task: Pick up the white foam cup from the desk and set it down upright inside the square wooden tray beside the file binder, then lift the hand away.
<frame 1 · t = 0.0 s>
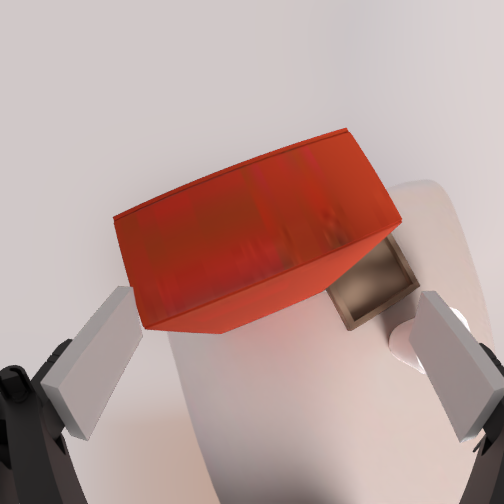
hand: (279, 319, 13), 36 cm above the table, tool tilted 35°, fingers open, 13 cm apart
square wooden tray: (363, 272, 50), on the table
foam cup: (404, 341, 46), on the table
file binder: (262, 290, 50), on the table
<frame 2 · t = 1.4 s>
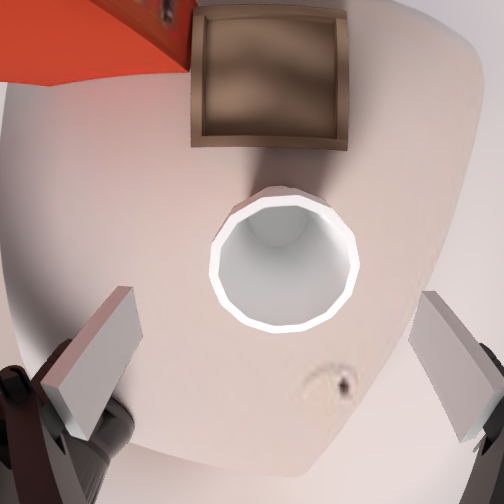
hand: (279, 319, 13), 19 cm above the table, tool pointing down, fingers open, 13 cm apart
square wooden tray: (269, 76, 26), on the table
foam cup: (277, 215, 32), on the table
file binder: (117, 43, 25), on the table
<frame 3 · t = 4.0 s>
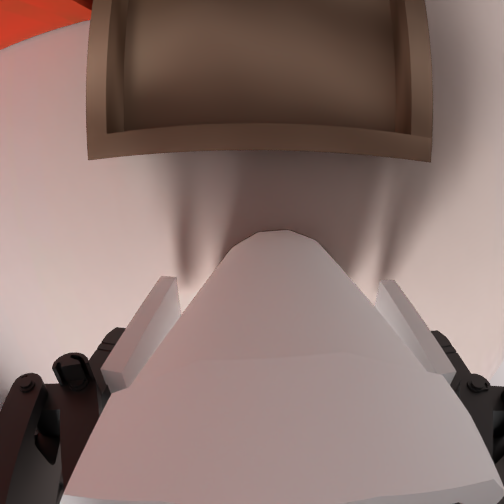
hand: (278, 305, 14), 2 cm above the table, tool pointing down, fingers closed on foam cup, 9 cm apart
square wooden tray: (258, 5, 11), on the table
foam cup: (277, 287, 16), on the table, touching gripper
file binder: (11, 0, 10), on the table
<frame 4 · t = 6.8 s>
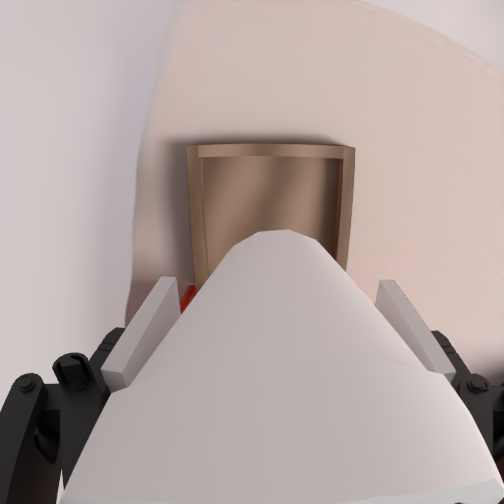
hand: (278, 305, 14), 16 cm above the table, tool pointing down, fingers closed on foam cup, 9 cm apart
square wooden tray: (270, 218, 29), on the table
foam cup: (277, 287, 16), point 14 cm above the table, touching gripper
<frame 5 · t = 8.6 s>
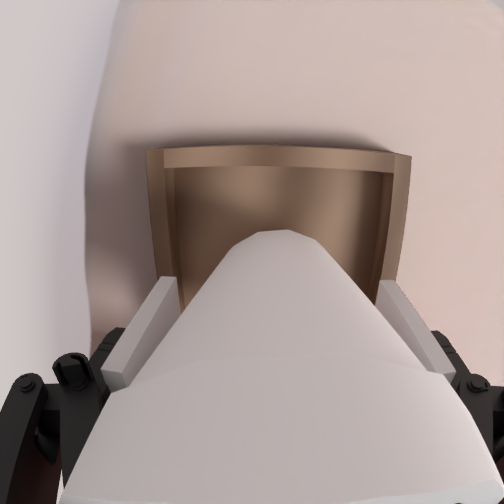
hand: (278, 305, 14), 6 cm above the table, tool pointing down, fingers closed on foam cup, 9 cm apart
square wooden tray: (277, 259, 20), on the table
foam cup: (277, 287, 16), point 4 cm above the table, touching gripper
when the fingers open (4 cm above the table, at t = 10.0 s): foam cup drops 1 cm, resting on square wooden tray.
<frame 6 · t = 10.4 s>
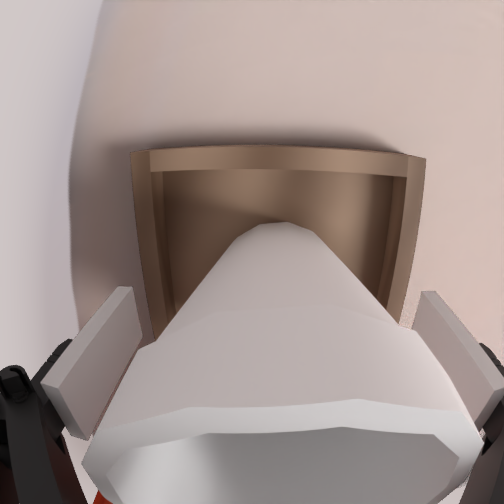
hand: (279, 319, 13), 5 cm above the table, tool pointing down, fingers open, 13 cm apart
square wooden tray: (277, 270, 18), on the table
foam cup: (278, 275, 17), point 1 cm above the table, touching square wooden tray
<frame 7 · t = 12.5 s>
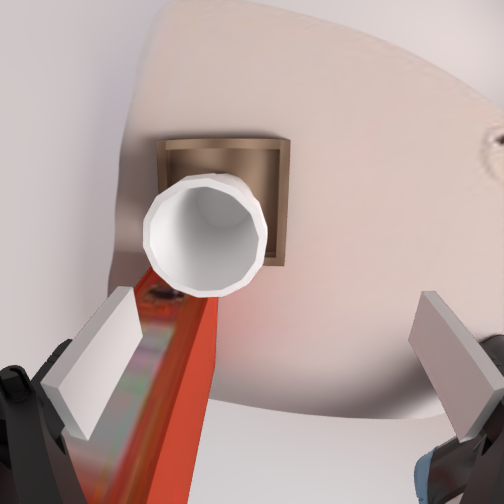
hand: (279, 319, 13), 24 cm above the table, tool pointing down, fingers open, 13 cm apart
square wooden tray: (224, 199, 36), on the table
foam cup: (224, 200, 35), point 1 cm above the table, touching square wooden tray
file binder: (188, 314, 42), on the table
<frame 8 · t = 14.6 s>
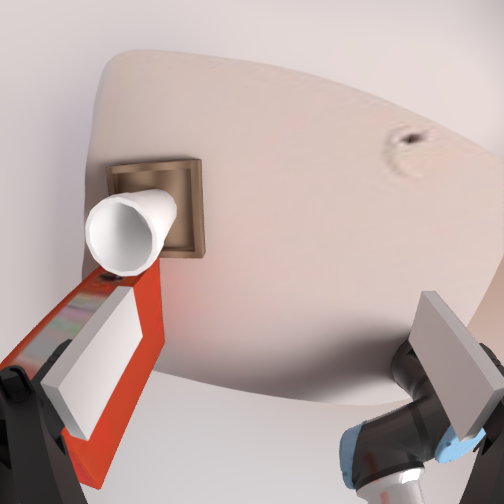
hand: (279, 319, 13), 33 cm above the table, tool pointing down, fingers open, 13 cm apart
square wooden tray: (158, 208, 46), on the table
foam cup: (157, 209, 45), point 1 cm above the table, touching square wooden tray
file binder: (140, 298, 52), on the table
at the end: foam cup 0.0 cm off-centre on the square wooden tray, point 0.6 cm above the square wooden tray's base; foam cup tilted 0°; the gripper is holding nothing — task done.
